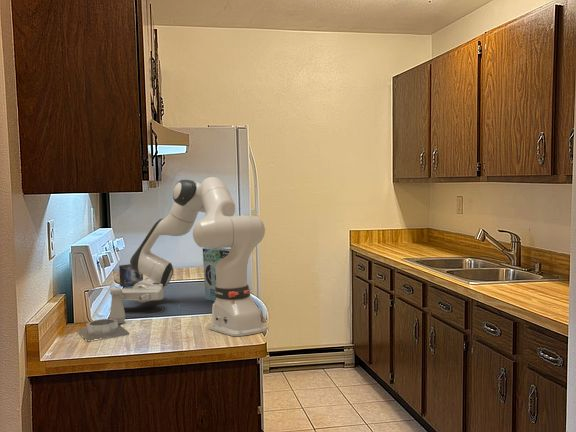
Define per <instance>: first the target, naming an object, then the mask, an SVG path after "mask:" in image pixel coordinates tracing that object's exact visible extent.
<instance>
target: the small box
mask: <svg viewBox="0 0 576 432" xmlns="http://www.w3.org/2000/svg"><path fill="white" fill-rule="evenodd" d="M118 267H119V286H120V285H121V286H120V287H122V286H123V287H122V288H127V287H133V286H134V285H135V284H136V283H138V282H140V281H142V280H144V274H142V273H139V272H136V271H134V270H133V269H132V267H131V264H130V263H129V264H119V265H118Z"/></svg>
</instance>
